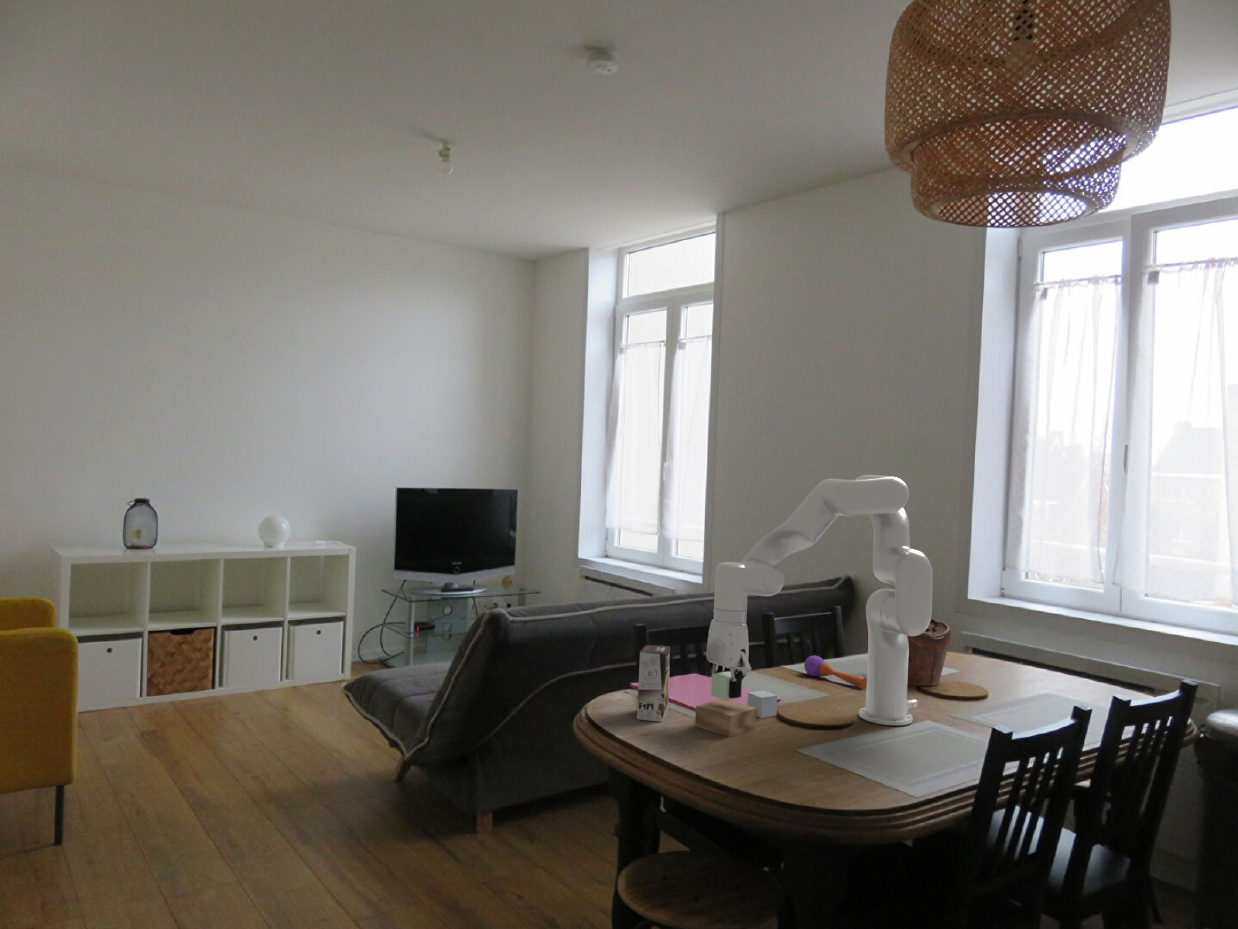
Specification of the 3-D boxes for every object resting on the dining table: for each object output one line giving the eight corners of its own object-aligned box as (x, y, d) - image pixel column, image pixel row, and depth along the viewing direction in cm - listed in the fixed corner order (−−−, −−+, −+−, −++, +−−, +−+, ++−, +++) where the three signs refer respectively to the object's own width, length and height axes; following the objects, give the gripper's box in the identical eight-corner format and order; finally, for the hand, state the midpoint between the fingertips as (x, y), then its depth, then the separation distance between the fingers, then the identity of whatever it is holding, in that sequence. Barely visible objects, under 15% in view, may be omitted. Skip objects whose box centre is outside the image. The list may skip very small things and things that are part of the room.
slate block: (762, 710, 221) (763, 690, 221) (776, 715, 217) (777, 695, 217) (747, 713, 218) (748, 692, 218) (761, 718, 214) (762, 697, 214)
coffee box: (663, 722, 208) (665, 653, 208) (636, 720, 209) (638, 651, 209) (669, 711, 217) (671, 645, 216) (643, 709, 218) (645, 643, 218)
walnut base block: (722, 719, 213) (722, 698, 213) (756, 729, 206) (756, 708, 206) (695, 727, 206) (696, 706, 206) (729, 738, 199) (730, 716, 199)
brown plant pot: (957, 678, 260) (958, 617, 260) (941, 693, 243) (943, 628, 243) (895, 669, 270) (897, 610, 269) (876, 683, 253) (877, 620, 253)
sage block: (727, 692, 209) (728, 671, 209) (741, 698, 205) (742, 676, 205) (711, 695, 206) (711, 673, 206) (725, 700, 202) (726, 678, 202)
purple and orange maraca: (857, 677, 242) (799, 656, 258) (857, 697, 244) (800, 675, 259) (870, 670, 246) (813, 650, 261) (870, 690, 247) (813, 669, 263)
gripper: (694, 610, 211) (691, 687, 211) (742, 624, 196) (738, 706, 197) (718, 608, 215) (715, 683, 215) (767, 621, 201) (763, 702, 201)
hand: (726, 693), depth 206 cm, fingers closed on sage block, 4 cm apart
